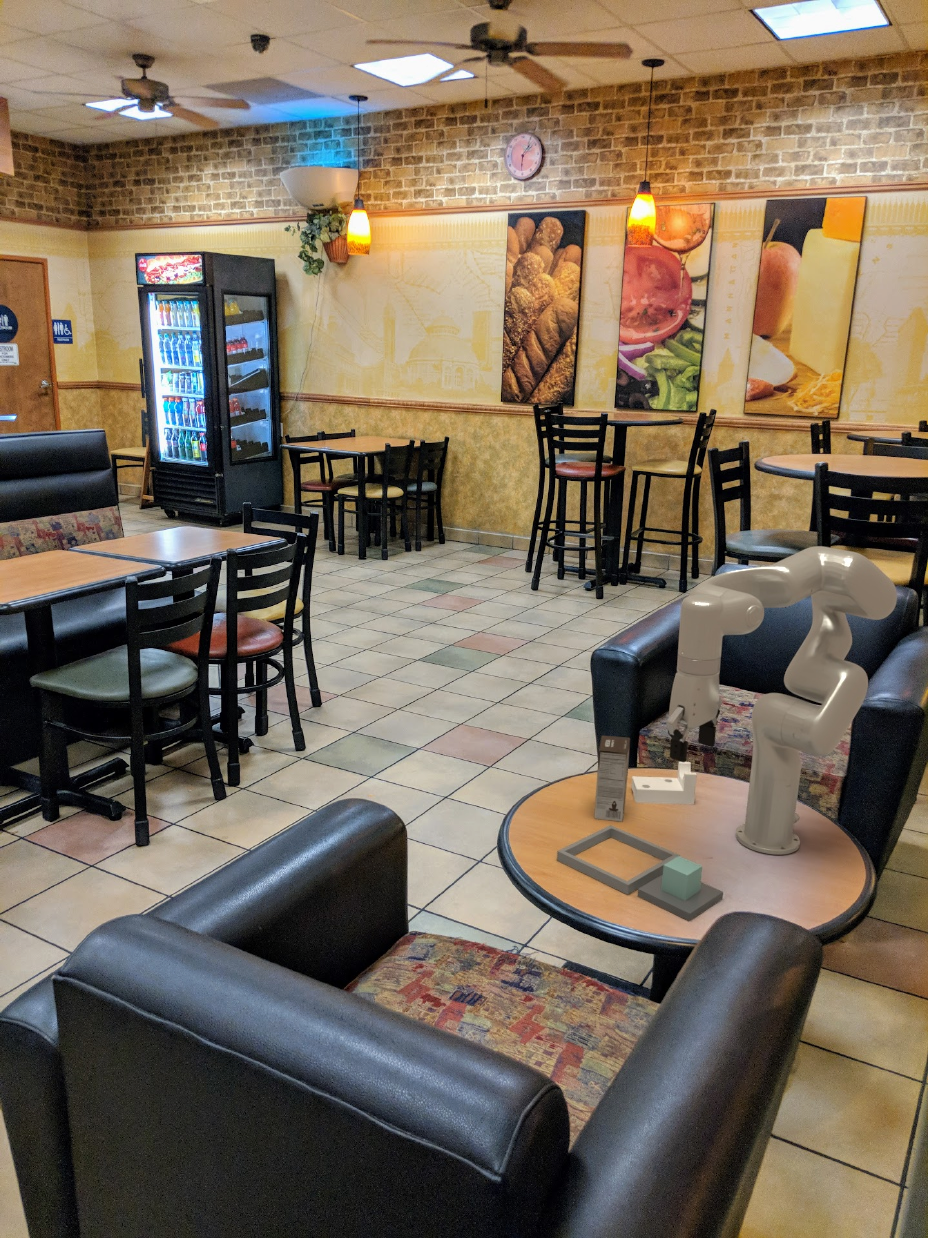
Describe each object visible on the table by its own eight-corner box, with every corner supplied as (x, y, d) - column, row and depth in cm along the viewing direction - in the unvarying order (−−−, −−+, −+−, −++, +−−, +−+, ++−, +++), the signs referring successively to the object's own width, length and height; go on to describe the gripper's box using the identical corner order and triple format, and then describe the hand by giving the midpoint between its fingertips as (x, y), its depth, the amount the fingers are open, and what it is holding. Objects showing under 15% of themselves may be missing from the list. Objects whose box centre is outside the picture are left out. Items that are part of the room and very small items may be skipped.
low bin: (609, 834, 197) (610, 825, 196) (679, 864, 185) (680, 855, 184) (556, 860, 185) (557, 851, 184) (627, 895, 173) (628, 885, 173)
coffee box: (596, 801, 212) (601, 734, 208) (625, 804, 211) (630, 737, 207) (593, 819, 203) (598, 749, 199) (623, 822, 202) (629, 752, 198)
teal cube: (676, 880, 176) (678, 856, 175) (699, 890, 173) (702, 866, 171) (661, 889, 172) (663, 865, 171) (685, 900, 169) (687, 875, 168)
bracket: (687, 792, 219) (689, 762, 217) (693, 806, 212) (696, 774, 210) (630, 790, 219) (633, 760, 217) (635, 804, 212) (638, 772, 210)
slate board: (671, 876, 180) (672, 869, 180) (722, 899, 173) (723, 892, 172) (637, 896, 173) (638, 888, 173) (689, 921, 165) (689, 913, 165)
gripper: (705, 649, 178) (699, 734, 183) (653, 670, 166) (648, 760, 171) (741, 658, 173) (734, 744, 178) (691, 680, 161) (684, 772, 166)
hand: (692, 752), depth 174 cm, fingers open, 9 cm apart
